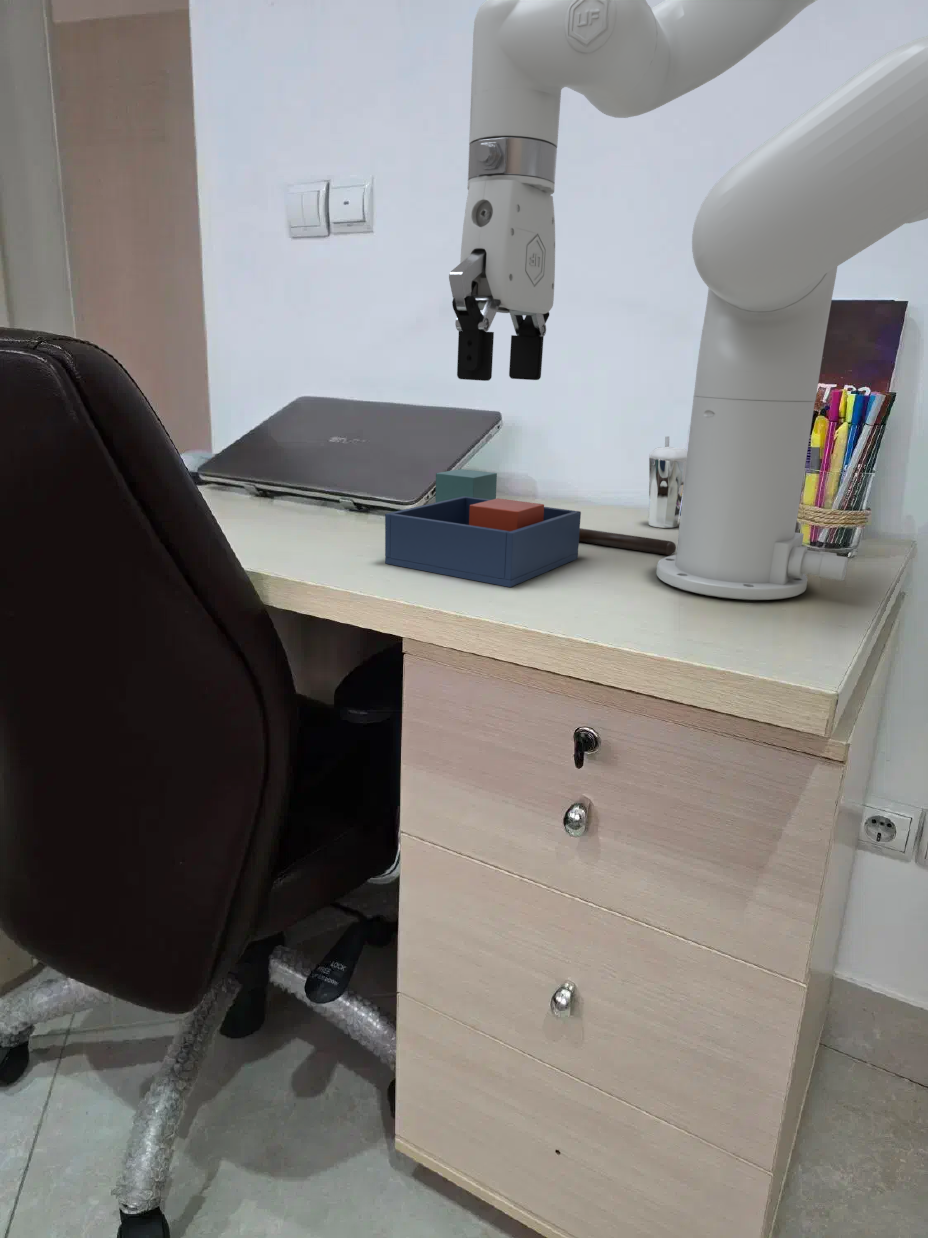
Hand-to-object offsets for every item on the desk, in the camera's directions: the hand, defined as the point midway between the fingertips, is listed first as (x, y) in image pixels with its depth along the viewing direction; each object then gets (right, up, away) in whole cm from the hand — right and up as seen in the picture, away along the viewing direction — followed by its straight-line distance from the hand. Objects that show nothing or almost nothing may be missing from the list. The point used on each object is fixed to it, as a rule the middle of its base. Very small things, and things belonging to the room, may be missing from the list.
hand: (500, 379), depth 76 cm
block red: (0, -16, 0) cm, 16 cm away
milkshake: (+20, -11, +21) cm, 31 cm away
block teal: (-3, -10, +18) cm, 21 cm away
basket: (-2, -17, +1) cm, 17 cm away
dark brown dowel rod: (+6, -13, +13) cm, 19 cm away
